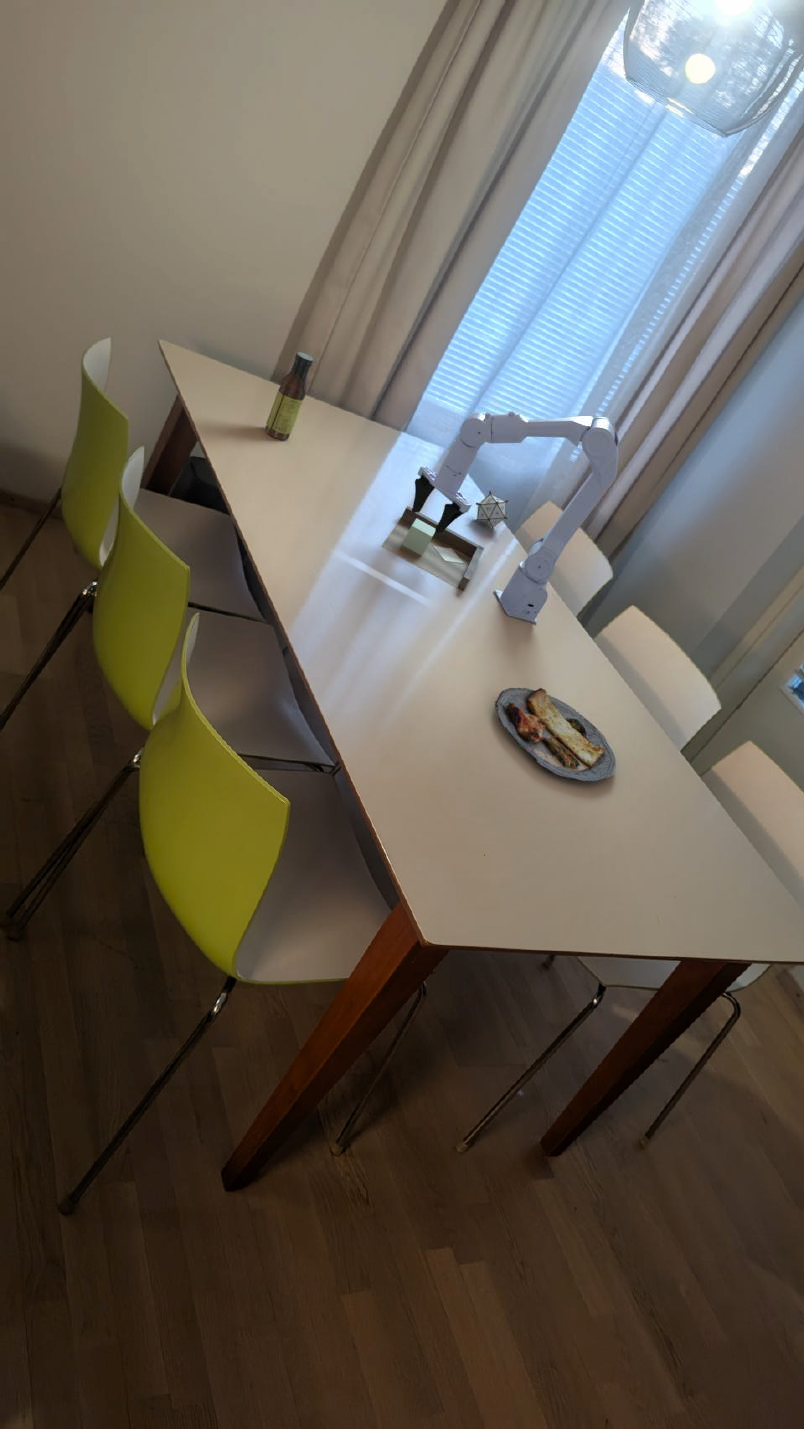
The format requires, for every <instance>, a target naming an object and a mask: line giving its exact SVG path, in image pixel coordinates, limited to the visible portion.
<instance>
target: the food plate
mask: <svg viewBox="0 0 804 1429" xmlns="http://www.w3.org/2000/svg"><path fill="white" fill-rule="evenodd" d="M494 703H495V704H494V706H495V709H494V711H496V714H497V715H498V716H499V717H498V722H499V723H501V724H502V725H503V728H504V729H505V730H507V731H508V732H509V733H510V735H511V736H512V737H513V738H514V740H516V742H517V743H518V746H519V747H520V748H521V749H523V750H525V751H526V752H527V753H528V754H529V755H530V756H533V757H534V759H536V762H537V763H538V764H539V765H540V766H542V767H543V768H546V769H547V770H549V771H551V772H552V773H553V774H555V775H557V776H560V777H565V778H567V779H576V780H579V781H583V782H587V781H588V782H598V781H602V780H606V779H608V778H610V777H612V776H614V774H615V771H616V768H617V759H616V755H615V752H614V750H613V749H612V748H611V746H610V744H609V743H608V741H607V739H606V737H605V735H604V734H603V733H602V732H601V731H600V730H599V729H598V728H597V727H596V726H595V725H594V724H593V723H591V722H590V721H589V720H588V719H587V718H586V717H584V716H583V715H582V714H580V712H578V711H577V710H576V708H575V709H574V707H572V706H570V705H568V704H567V702H564V701H562V700H560V699H559V698H556V697H554V696H552V695H549V694H548V692H547V690H546V689H544V688H543V687H539V688H538V689H536V690H533V689H530V688H528V687H527V688H526V687H509V688H507V689H504V690H502V691H501V692H500V693H499V694H498V697H497V699H496V700H495V702H494ZM535 749H536V751H538V752H541V753H543V754H544V757H545V758H546V759H543V757H542V756H540V755H539V753H538V752H537V753H536V751H534V750H535ZM548 756H551V757H552V758H556V759H557V760H558V761H559V763H561V766H563V767H561V766H560V767H559V766H557V765H555V764H553V763H551V762H550V761H548V760H547V759H548ZM556 759H555V761H556ZM580 763H582V764H583V765H585V766H586V768H583V769H580V770H576V771H575V769H576V768H578V766H579V767H580V766H581V764H580ZM565 768H569V769H571V770H569V769H565ZM572 769H574V770H572Z"/></svg>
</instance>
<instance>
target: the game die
mask: <svg viewBox="0 0 804 1429" xmlns="http://www.w3.org/2000/svg"><path fill="white" fill-rule="evenodd" d="M509 501H510V500H508V499H507V500H503V499H501V498H499V497H497V496H495V495H493V494H492V491H491V490H489V491H488V495H487V496H486V497H485V498H483V500H481V501H480V502H475V505H476V506H477V513H476V519H475V520H476V522H480V523H483V524H484V525H487V526H489V527H490V528H491V530H492V529H493V531H494V530H495V527H496V526H497V525H498V524H500V523H501V522H502V521H503V520H508V519H509V518H508V517H506V510H507V503H508V502H509Z"/></svg>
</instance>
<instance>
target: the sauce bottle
mask: <svg viewBox="0 0 804 1429" xmlns="http://www.w3.org/2000/svg"><path fill="white" fill-rule="evenodd" d="M313 363H314V359H313V357H312V356H311V355H309V354H307V353H305V352H302V351H297V353H296V355H295V358H294V363H293V365H292V368H291V370H290V372H289V373H288V374H287V375H285V376H284V377H283V378H282V380H281V383H280V386H279V387H278V390H277V393H276V396H275V398H274V401H273V404H272V406H271V409H270V412H269V415H268V418H267V420H266V425H265V428H264V430H265V431H266V433H268V435H269V436H271V437H272V438H274V439H277V440H281V441H286V440H287V441H288V439H289V438H290V436H291V434H292V433H293V431H294V427H295V424H296V422H297V419H298V416H299V414H300V411H301V410H302V405H303V403H304V400H305V398H306V395H307V394H306V392H307V378H308V374H309V371H310V369H311V366H313Z"/></svg>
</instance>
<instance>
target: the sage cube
mask: <svg viewBox="0 0 804 1429" xmlns="http://www.w3.org/2000/svg"><path fill="white" fill-rule="evenodd" d="M435 530H436V529H435V528H433V527H431V526H430V525H428V524H426V523H424V522H422V521H421V520H419V519H417V518H416V520H415V521H414V523H413V524H412V526H411V528H410V530H409V532H408V534H407V536H406V538H405V540H404V542H403V544H402V545H403V546H405V547H407V548H409V549H411V550H413V551H414V552H416V553H418V554H420V555H423V553H424V552H425V550H426V548H427V546H428V544H429V543H430V541H431V539H432V537H433V535H434V533H435Z"/></svg>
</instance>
